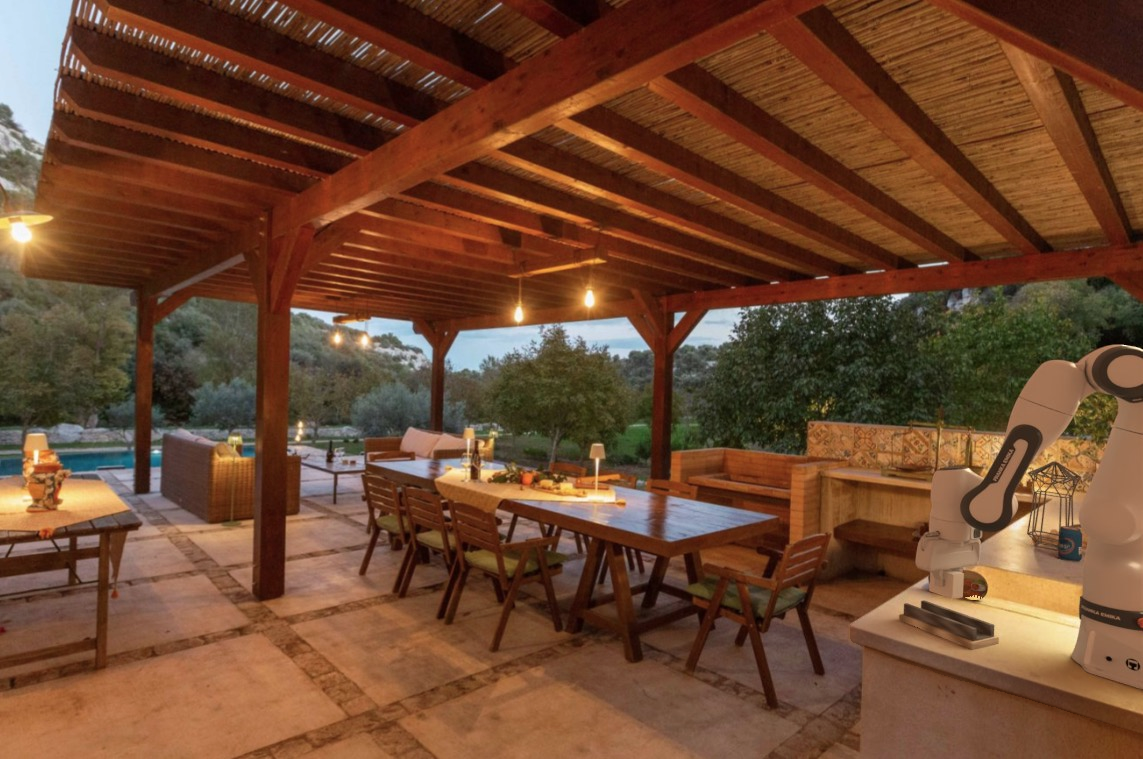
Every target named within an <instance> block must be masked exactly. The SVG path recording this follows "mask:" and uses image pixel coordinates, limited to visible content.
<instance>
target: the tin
mask: <svg viewBox="0 0 1143 759" xmlns="http://www.w3.org/2000/svg"><path fill="white" fill-rule="evenodd" d="M952 570H953V569H952ZM962 573H964V582H963V597H962V598H961V599H962V600H966V598H965V597H970V596H971V597H972V596H973V595H974V597H975V595H977V598H978V596H980V600H982V599H984V598H985V597H986V595H987V593H988V591H989V584H988V582H987V579H986V578H985V577H984V576H983V575H982V574H981V573H979V572H977V571H975V570H970V569H965V568H963V572H962ZM928 584H929V585H930V572H929V573H928ZM981 597H982V599H981Z"/></svg>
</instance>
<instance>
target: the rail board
mask: <svg viewBox="0 0 1143 759" xmlns="http://www.w3.org/2000/svg"><path fill="white" fill-rule="evenodd" d="M898 620H900V622H902V623H904V622H905V623H904V624H907V625H909V624H910V626H912V625H913V626H912V627H914V626H915V628H917V627H918V628H917V629H919V628H920V629H919V630H921V631H925V632H928V633H930V634H933V635H935V636H937V635H938V637H940V636H941V637H940V638H942V637H943V639H945V638H946V639H945V640H947V639H948V641H950V642H952V643H956V644H958V645H961V646H962V647H965V648H967V649H970V650H976V649H979V648H985V647H989V646H993V645H997V644H999V641H1000V637H999V636H996V635H995V624H994V623H990V622H987V621H984V620H981V619H979V618H976V617H972V616H970V615H968V614H965V613H961V612H959V611H956V610H953V609H951V608H947V607H944V606H942V605H938V604H935V603H933V602H931V601H927V600H921V601H920V607H919V606H916V605H913V604H911V603H908V602H907V603H903V613H902V614H901V613H900V614H899V615H898Z"/></svg>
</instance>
